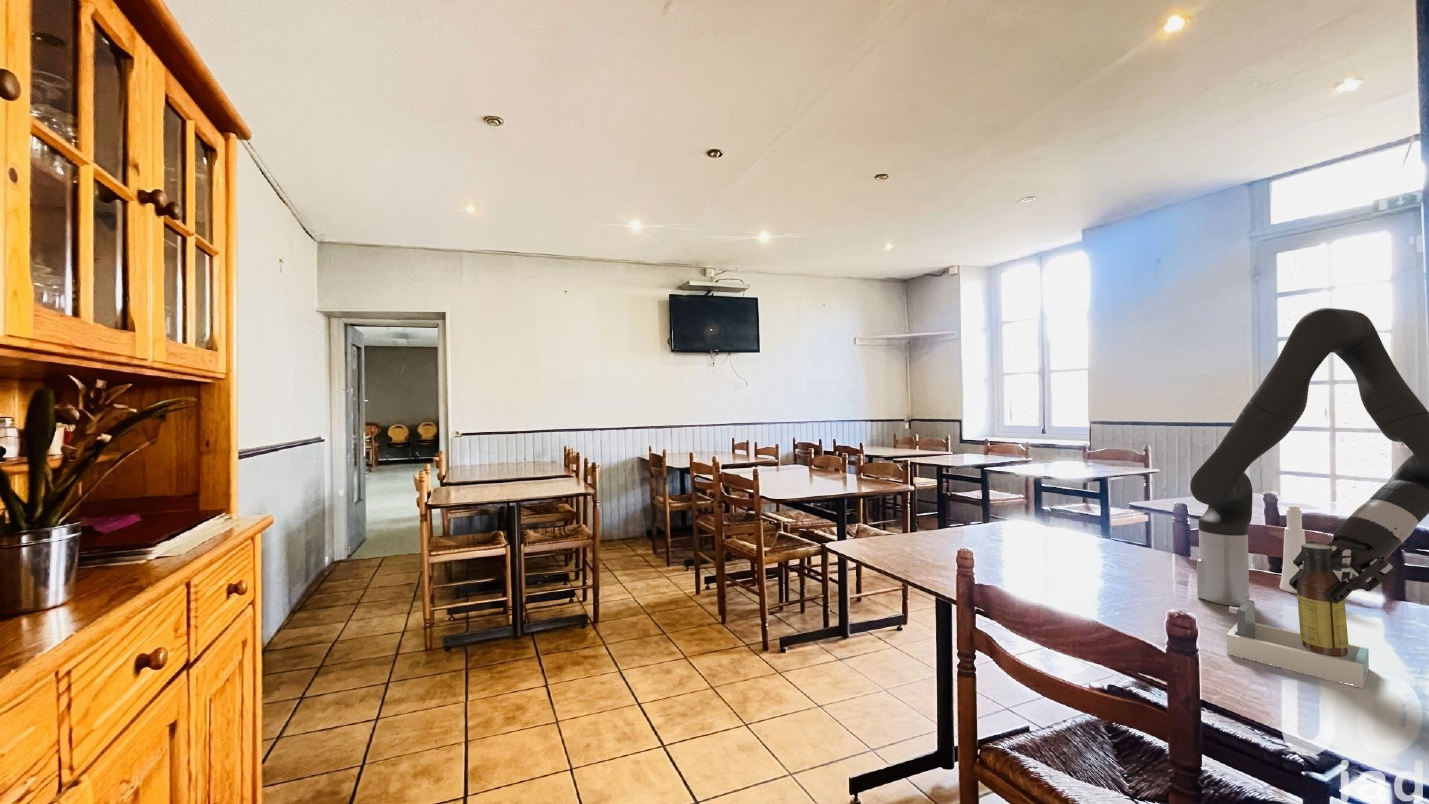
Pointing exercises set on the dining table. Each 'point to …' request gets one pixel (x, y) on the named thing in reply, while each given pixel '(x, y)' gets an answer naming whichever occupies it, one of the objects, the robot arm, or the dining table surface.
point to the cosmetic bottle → (1292, 546)
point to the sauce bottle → (1320, 604)
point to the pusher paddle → (1245, 619)
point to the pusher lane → (1299, 655)
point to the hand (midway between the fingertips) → (1311, 593)
